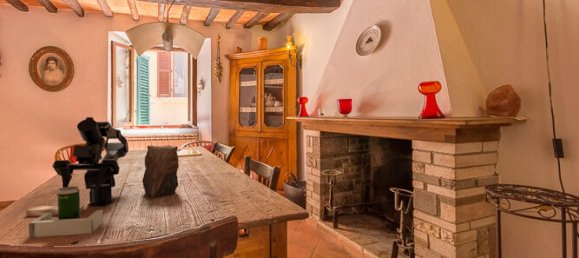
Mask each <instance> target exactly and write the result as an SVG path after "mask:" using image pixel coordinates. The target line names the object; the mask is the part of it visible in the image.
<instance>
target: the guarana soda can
mask: <svg viewBox="0 0 579 258" xmlns="http://www.w3.org/2000/svg"><path fill="white" fill-rule="evenodd" d="M56 197H57V206H58V215H57V218H58V219H57V220H62V219H80V218H81V213H80V205H81V204H80V203H81V201H80V197H81V196H80V189H79V186H75V185H74V186H68V187H64V188H63V187H60V188H58V189H57V193H56Z"/></svg>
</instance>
